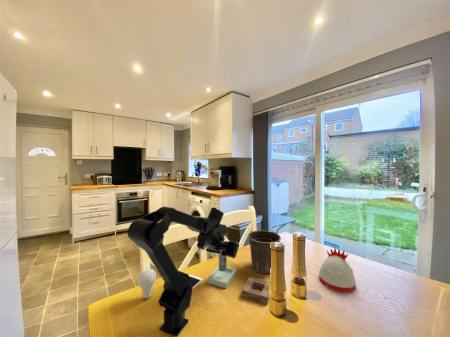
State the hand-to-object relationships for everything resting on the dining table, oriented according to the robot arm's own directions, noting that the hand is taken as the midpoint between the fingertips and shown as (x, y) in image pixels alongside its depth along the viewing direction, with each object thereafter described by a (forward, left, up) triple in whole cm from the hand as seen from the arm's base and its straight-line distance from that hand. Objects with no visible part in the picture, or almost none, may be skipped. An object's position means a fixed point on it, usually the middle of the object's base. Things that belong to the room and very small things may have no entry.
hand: (224, 253), depth 89 cm
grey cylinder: (-1, 0, -7) cm, 7 cm away
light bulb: (-25, +21, -11) cm, 35 cm away
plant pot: (+16, -15, -11) cm, 24 cm away
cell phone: (-13, +12, -11) cm, 21 cm away
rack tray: (-1, 0, -11) cm, 11 cm away
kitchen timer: (+18, -47, -11) cm, 51 cm away
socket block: (-4, -17, -11) cm, 20 cm away
